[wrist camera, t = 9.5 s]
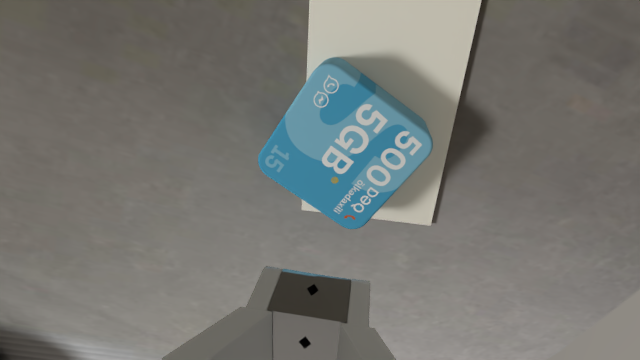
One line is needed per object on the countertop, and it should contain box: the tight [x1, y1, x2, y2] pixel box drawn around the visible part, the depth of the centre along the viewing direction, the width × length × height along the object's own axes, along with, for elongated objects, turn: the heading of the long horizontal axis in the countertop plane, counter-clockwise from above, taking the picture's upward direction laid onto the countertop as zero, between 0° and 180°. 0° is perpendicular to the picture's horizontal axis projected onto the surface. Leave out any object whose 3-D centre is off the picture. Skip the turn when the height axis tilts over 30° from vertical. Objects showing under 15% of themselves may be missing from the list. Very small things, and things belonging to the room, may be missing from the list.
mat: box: [302, 0, 482, 226], centre depth 33 cm, size 14×26×1 cm, turn 177°
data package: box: [258, 57, 433, 229], centre depth 33 cm, size 12×4×12 cm
